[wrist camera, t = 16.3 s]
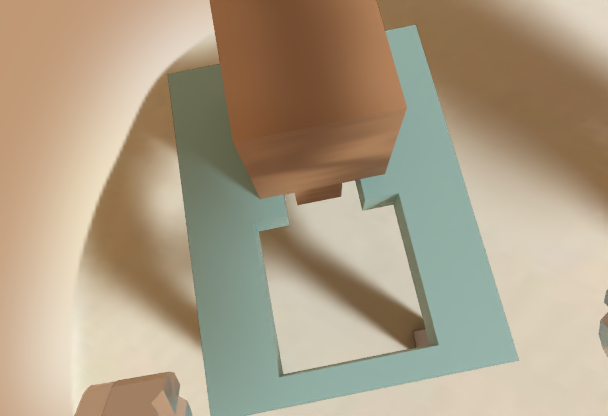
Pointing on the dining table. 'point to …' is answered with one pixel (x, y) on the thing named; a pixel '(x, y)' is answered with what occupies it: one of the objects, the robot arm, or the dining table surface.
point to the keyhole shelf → (273, 214)
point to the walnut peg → (308, 92)
